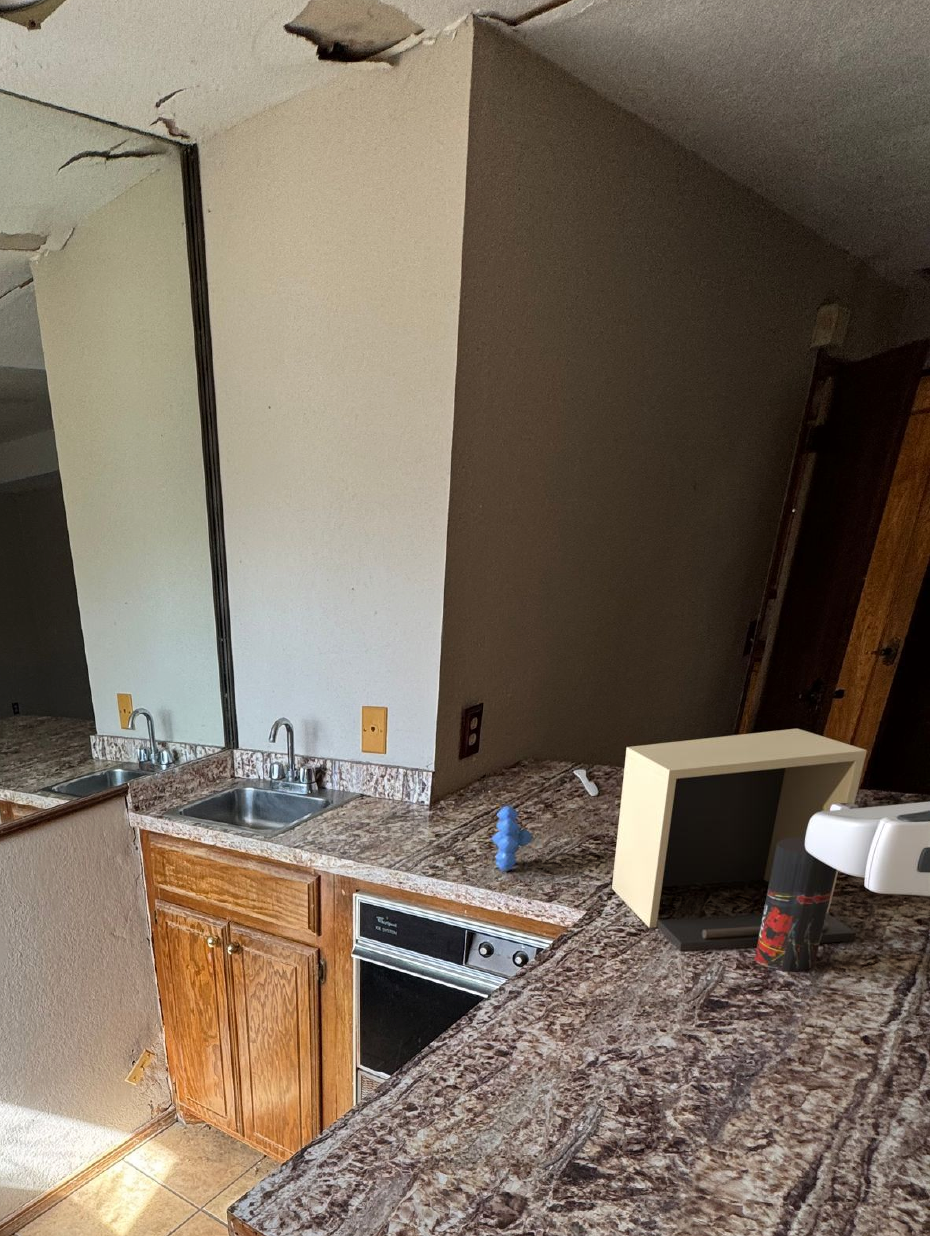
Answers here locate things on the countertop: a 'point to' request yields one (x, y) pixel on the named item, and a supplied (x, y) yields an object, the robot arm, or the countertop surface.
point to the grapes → (509, 838)
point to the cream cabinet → (723, 821)
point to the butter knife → (587, 782)
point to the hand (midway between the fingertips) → (893, 805)
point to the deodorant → (794, 908)
